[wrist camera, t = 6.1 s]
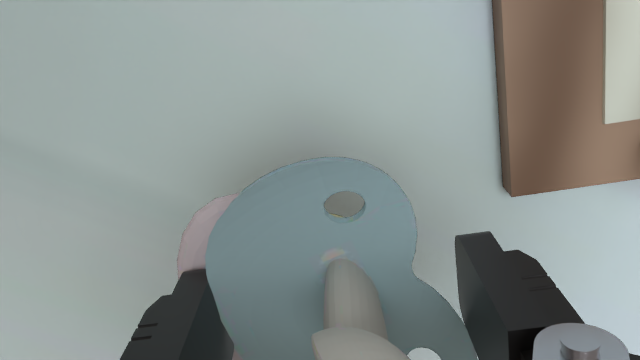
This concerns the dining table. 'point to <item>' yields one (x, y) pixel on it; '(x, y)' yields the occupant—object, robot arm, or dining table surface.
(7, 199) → the dining table surface
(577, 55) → the pin tray
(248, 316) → the pacifier
